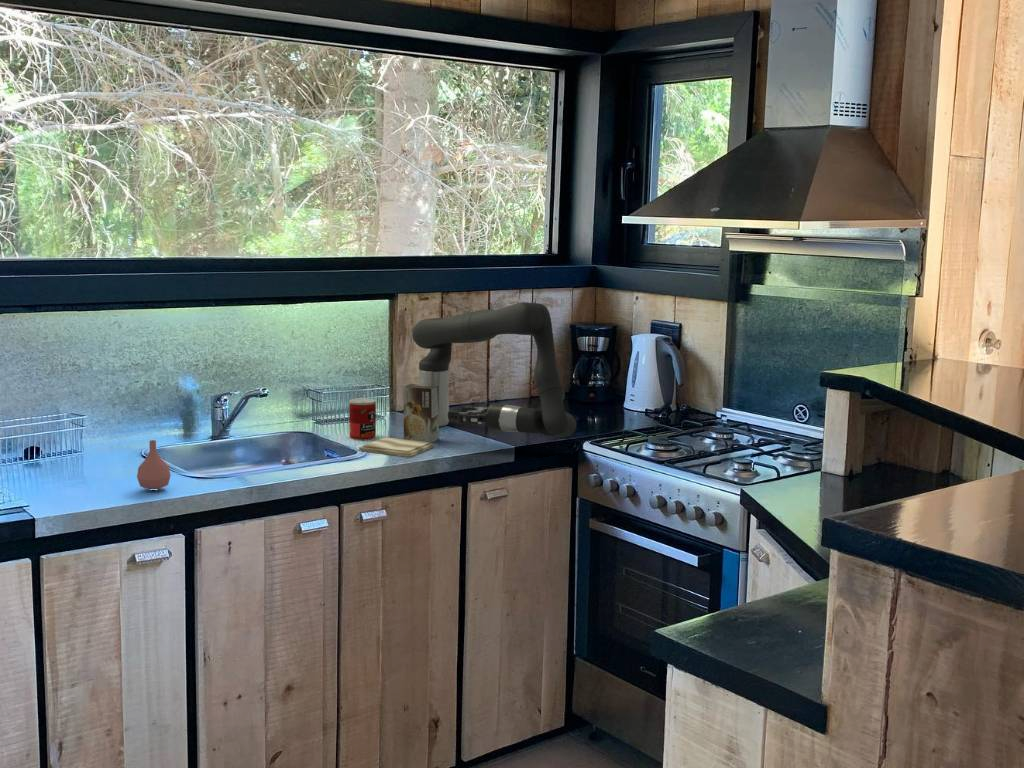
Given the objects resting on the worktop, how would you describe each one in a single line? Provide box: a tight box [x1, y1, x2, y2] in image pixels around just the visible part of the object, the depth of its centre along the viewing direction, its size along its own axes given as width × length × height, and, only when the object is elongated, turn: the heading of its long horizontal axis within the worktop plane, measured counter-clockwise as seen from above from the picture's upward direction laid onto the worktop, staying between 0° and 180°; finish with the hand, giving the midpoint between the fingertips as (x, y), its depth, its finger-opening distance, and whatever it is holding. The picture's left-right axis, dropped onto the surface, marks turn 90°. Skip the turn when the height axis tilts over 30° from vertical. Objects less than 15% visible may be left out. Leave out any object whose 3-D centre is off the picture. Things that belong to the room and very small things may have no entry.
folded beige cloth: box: [358, 436, 435, 458], centre depth 315 cm, size 14×16×2 cm
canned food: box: [348, 397, 377, 441], centre depth 329 cm, size 8×8×11 cm
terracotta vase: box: [136, 439, 172, 490], centre depth 266 cm, size 8×8×12 cm
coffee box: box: [402, 383, 440, 444], centre depth 326 cm, size 9×6×16 cm
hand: (455, 412), depth 321 cm, fingers open, 8 cm apart
